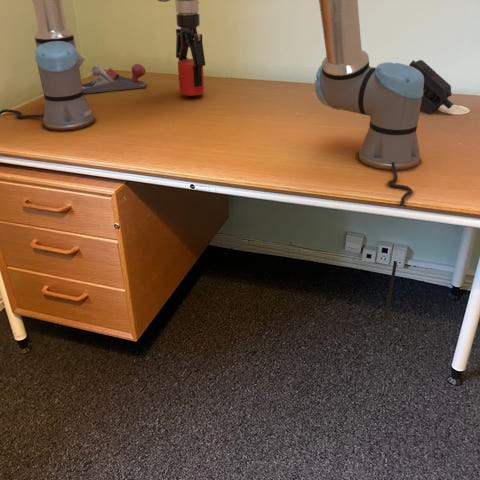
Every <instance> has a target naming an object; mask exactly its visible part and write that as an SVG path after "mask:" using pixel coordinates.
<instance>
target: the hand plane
mask: <svg viewBox="0 0 480 480" xmlns="http://www.w3.org/2000/svg"><path fill="white" fill-rule="evenodd" d="M76 52H77V55H78V64H79V69H80V68H81V66H82V65H83V63H84V61H85V59H86V58H85V56H84V55H83V54H82V53H81V52H80V51H79V50H77V49H76ZM90 72H91V75H93V76H94V77H97V78H95V79H90V81H89V82H86V83H82V87H83V93H84V95H85V94H94V93H104V92H112V91H113V92H114V91H121V90H132V89H142V88H146V83H145V81H143V80H139V78H142V77H144V76H145V75H146V68H145V66H143V65H141V64H139V63H134V64H133V65H132V66H131V73H132V76H131V78H130V77H126V76H123V75H120V74H119V73H117V72H116V71H114V70H113V69H112V68H111V67H109V68H108V70H107V71H105V70H104V69H103V68H102V67H100V65H94V66H92V68H91V70H90Z"/></svg>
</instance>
